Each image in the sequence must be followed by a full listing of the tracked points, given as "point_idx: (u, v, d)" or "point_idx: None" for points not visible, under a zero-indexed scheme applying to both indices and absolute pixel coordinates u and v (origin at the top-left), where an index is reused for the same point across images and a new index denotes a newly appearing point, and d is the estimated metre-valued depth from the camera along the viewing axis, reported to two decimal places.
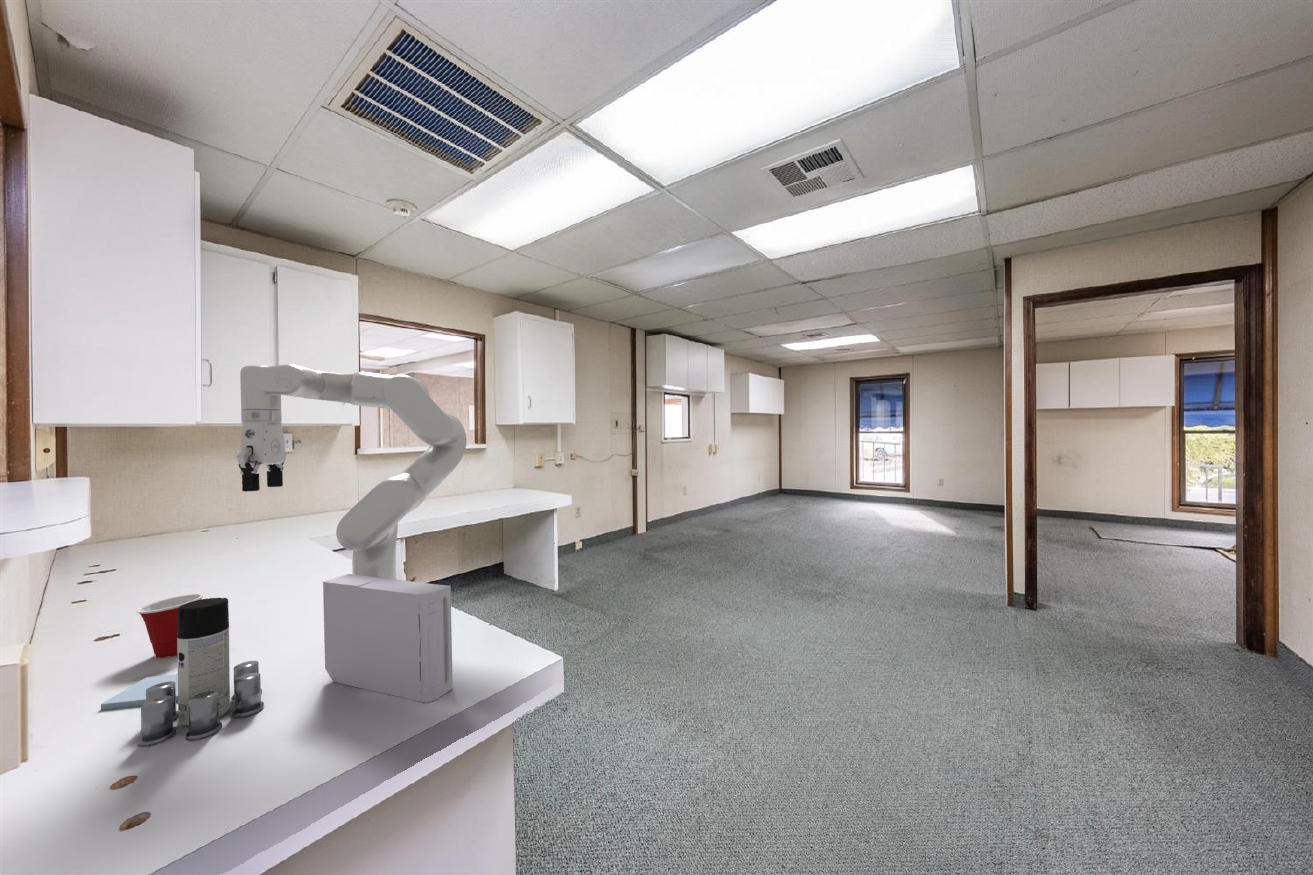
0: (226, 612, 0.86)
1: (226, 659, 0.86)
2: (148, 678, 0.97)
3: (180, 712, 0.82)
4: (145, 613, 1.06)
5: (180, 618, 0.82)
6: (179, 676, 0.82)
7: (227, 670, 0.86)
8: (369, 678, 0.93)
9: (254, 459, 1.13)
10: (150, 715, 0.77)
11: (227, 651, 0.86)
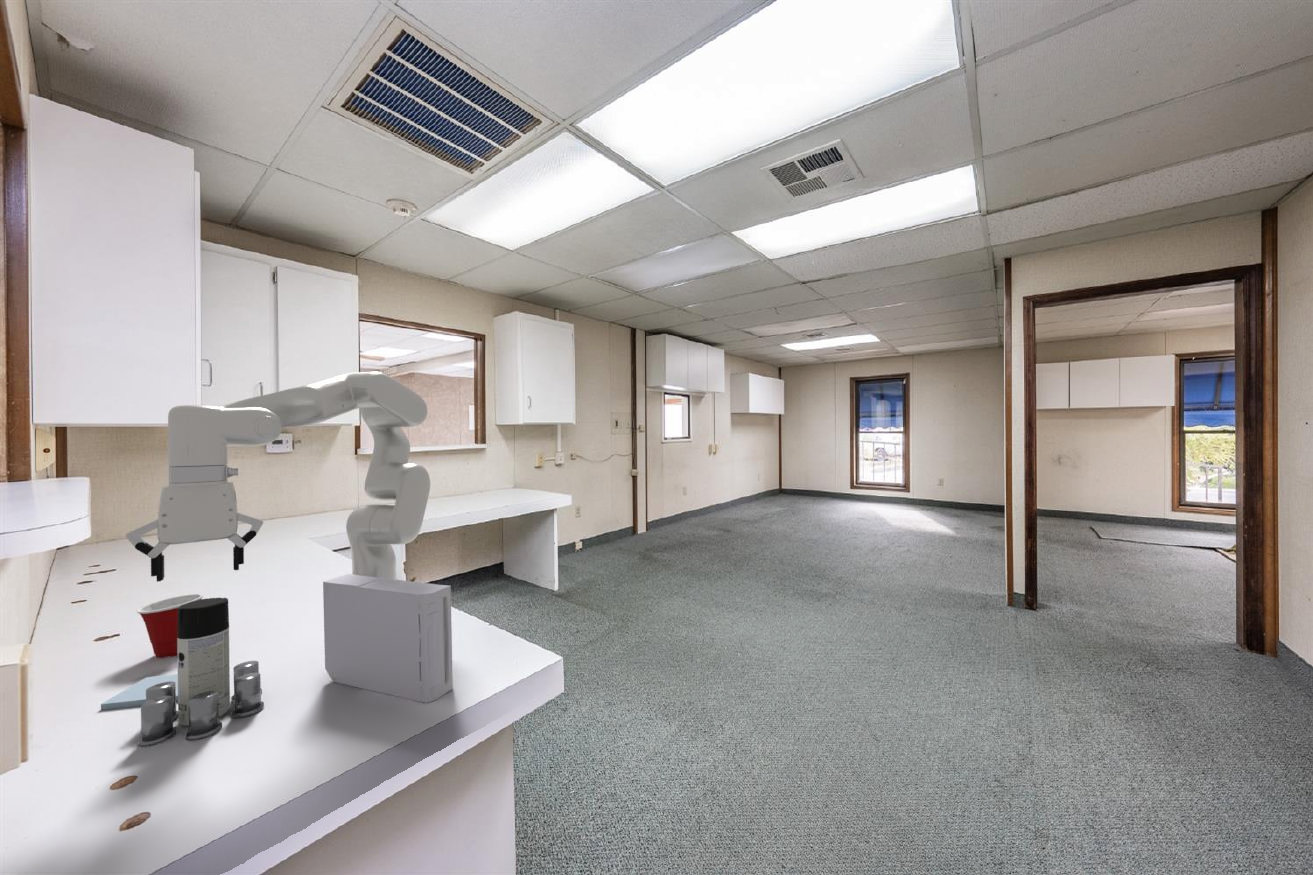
0: (226, 612, 0.86)
1: (226, 659, 0.86)
2: (148, 678, 0.97)
3: (180, 712, 0.82)
4: (145, 613, 1.06)
5: (180, 618, 0.82)
6: (179, 676, 0.82)
7: (227, 670, 0.86)
8: (369, 678, 0.93)
9: None
10: (150, 715, 0.77)
11: (227, 651, 0.86)
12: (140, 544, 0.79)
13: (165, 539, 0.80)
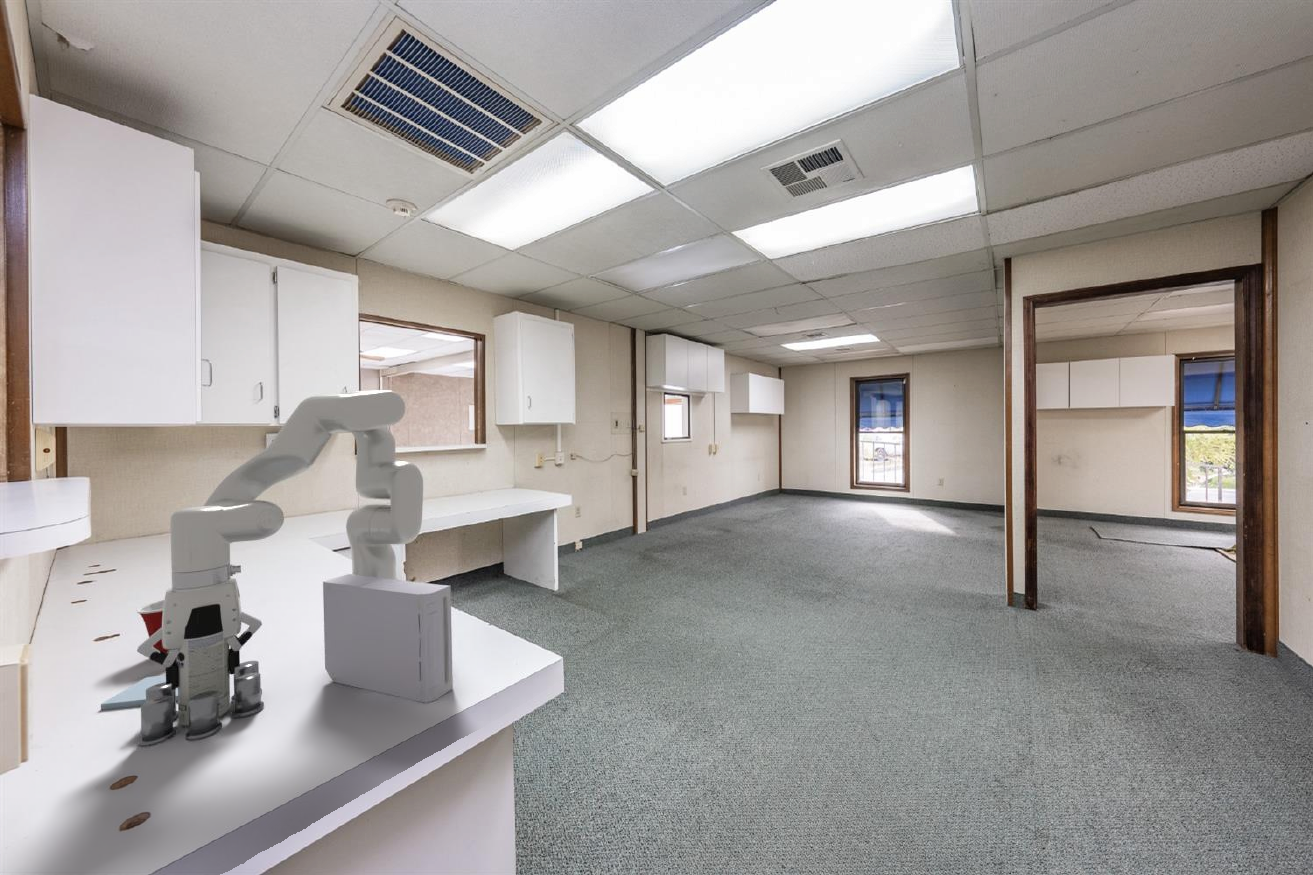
0: None
1: (226, 659, 0.86)
2: (148, 678, 0.97)
3: (180, 712, 0.82)
4: (145, 613, 1.06)
5: None
6: (179, 676, 0.82)
7: (227, 670, 0.86)
8: (369, 678, 0.93)
9: None
10: (150, 715, 0.77)
11: (227, 651, 0.86)
12: (155, 654, 0.80)
13: (169, 645, 0.81)
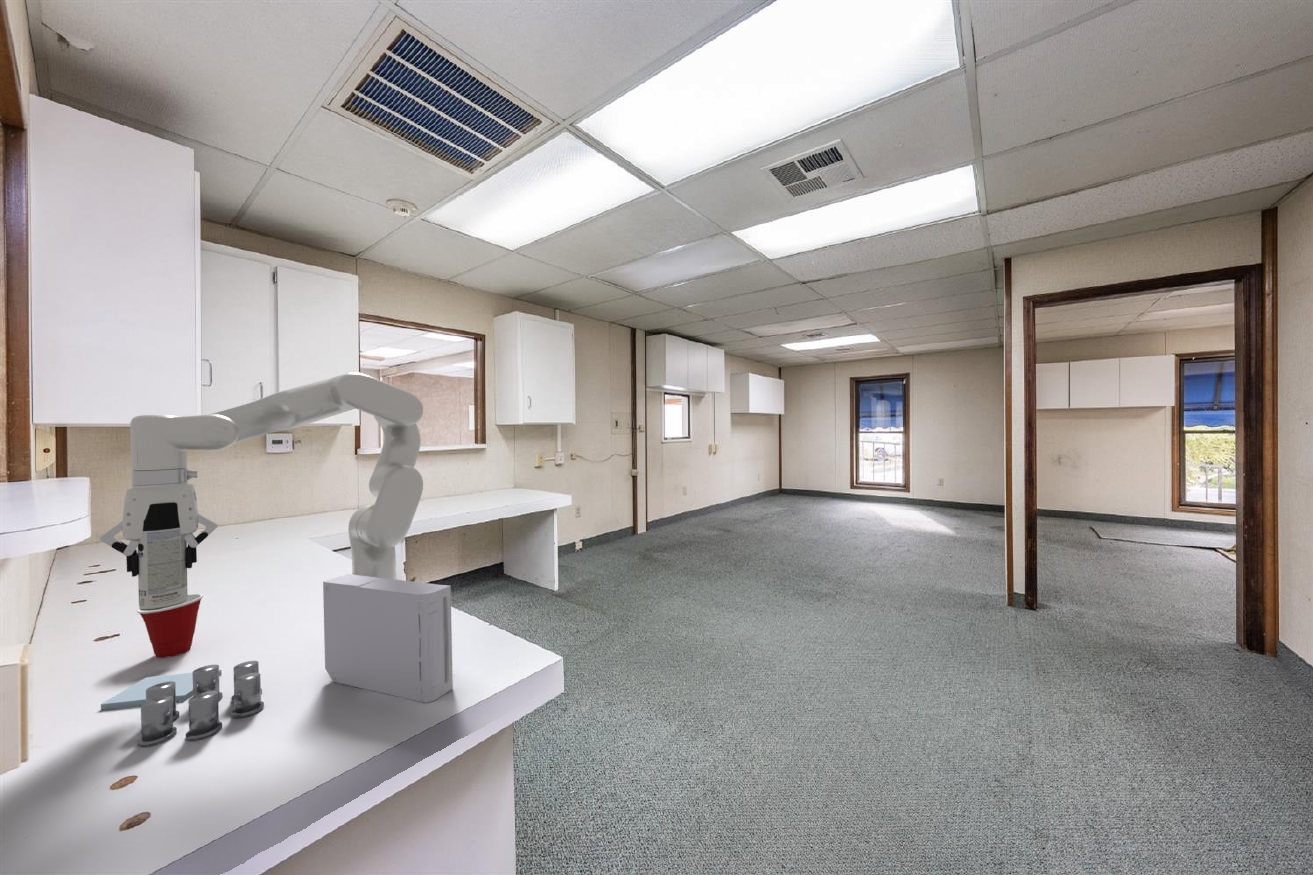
0: None
1: (183, 553, 0.94)
2: (148, 678, 0.97)
3: (140, 597, 0.91)
4: (145, 613, 1.06)
5: None
6: (139, 565, 0.91)
7: (184, 564, 0.95)
8: (369, 678, 0.93)
9: None
10: (150, 715, 0.77)
11: (184, 547, 0.95)
12: (116, 543, 0.89)
13: (129, 536, 0.89)
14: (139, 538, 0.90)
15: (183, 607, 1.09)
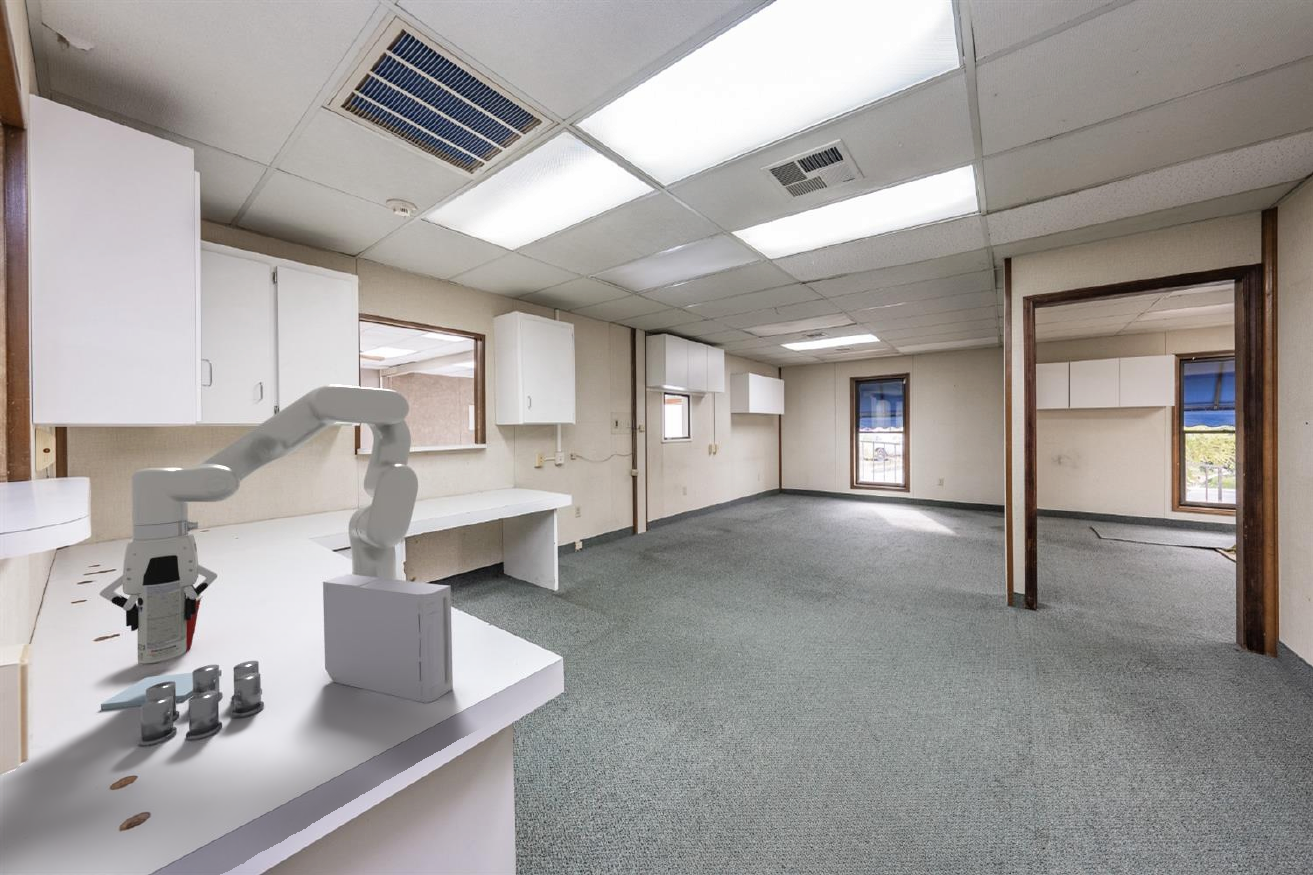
0: None
1: (182, 606, 0.94)
2: (148, 678, 0.97)
3: (139, 651, 0.91)
4: None
5: None
6: (138, 619, 0.91)
7: (184, 616, 0.95)
8: (369, 678, 0.93)
9: None
10: (150, 715, 0.77)
11: (184, 599, 0.95)
12: (116, 598, 0.89)
13: (129, 590, 0.89)
14: (139, 592, 0.90)
15: None
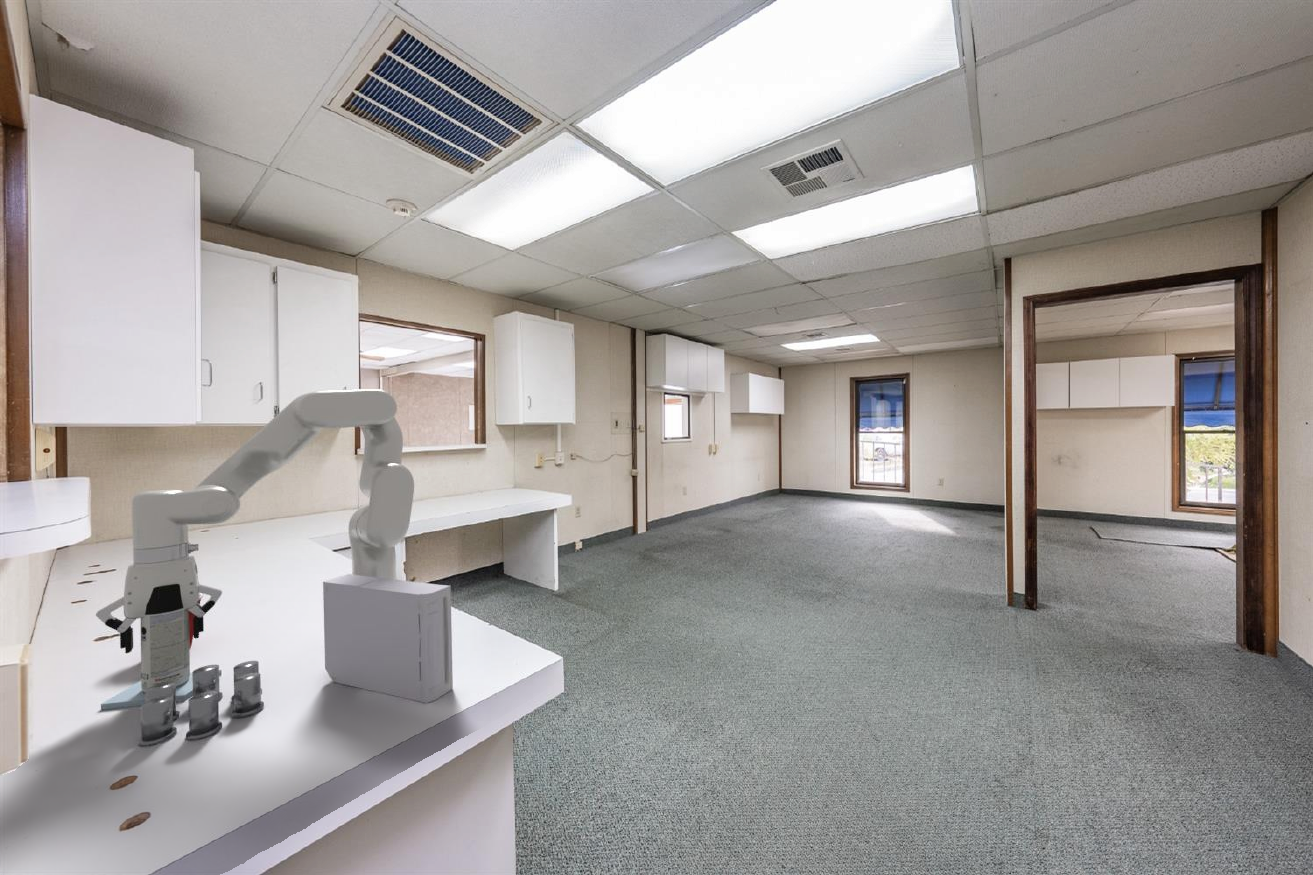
0: None
1: (186, 633, 0.95)
2: None
3: (143, 680, 0.91)
4: None
5: None
6: (142, 648, 0.91)
7: (187, 644, 0.95)
8: (369, 678, 0.93)
9: None
10: (150, 715, 0.77)
11: (187, 627, 0.95)
12: (110, 621, 0.89)
13: (130, 614, 0.90)
14: (140, 616, 0.90)
15: None
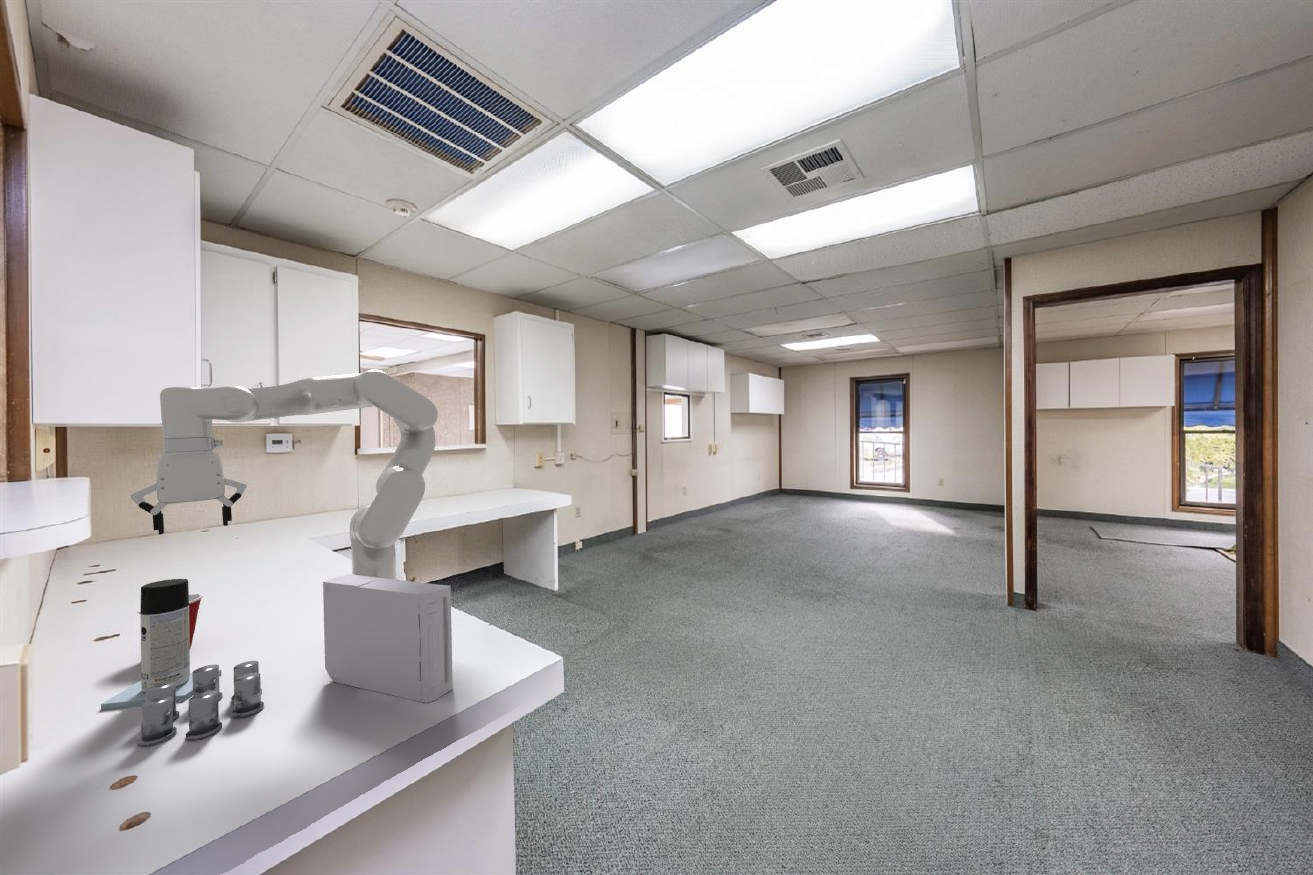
0: (186, 591, 0.95)
1: (186, 633, 0.95)
2: None
3: (143, 680, 0.91)
4: None
5: (142, 596, 0.91)
6: (142, 648, 0.91)
7: (187, 644, 0.95)
8: (369, 678, 0.93)
9: None
10: (150, 715, 0.77)
11: (187, 627, 0.95)
12: (143, 503, 0.95)
13: (164, 499, 0.96)
14: (172, 501, 0.97)
15: None
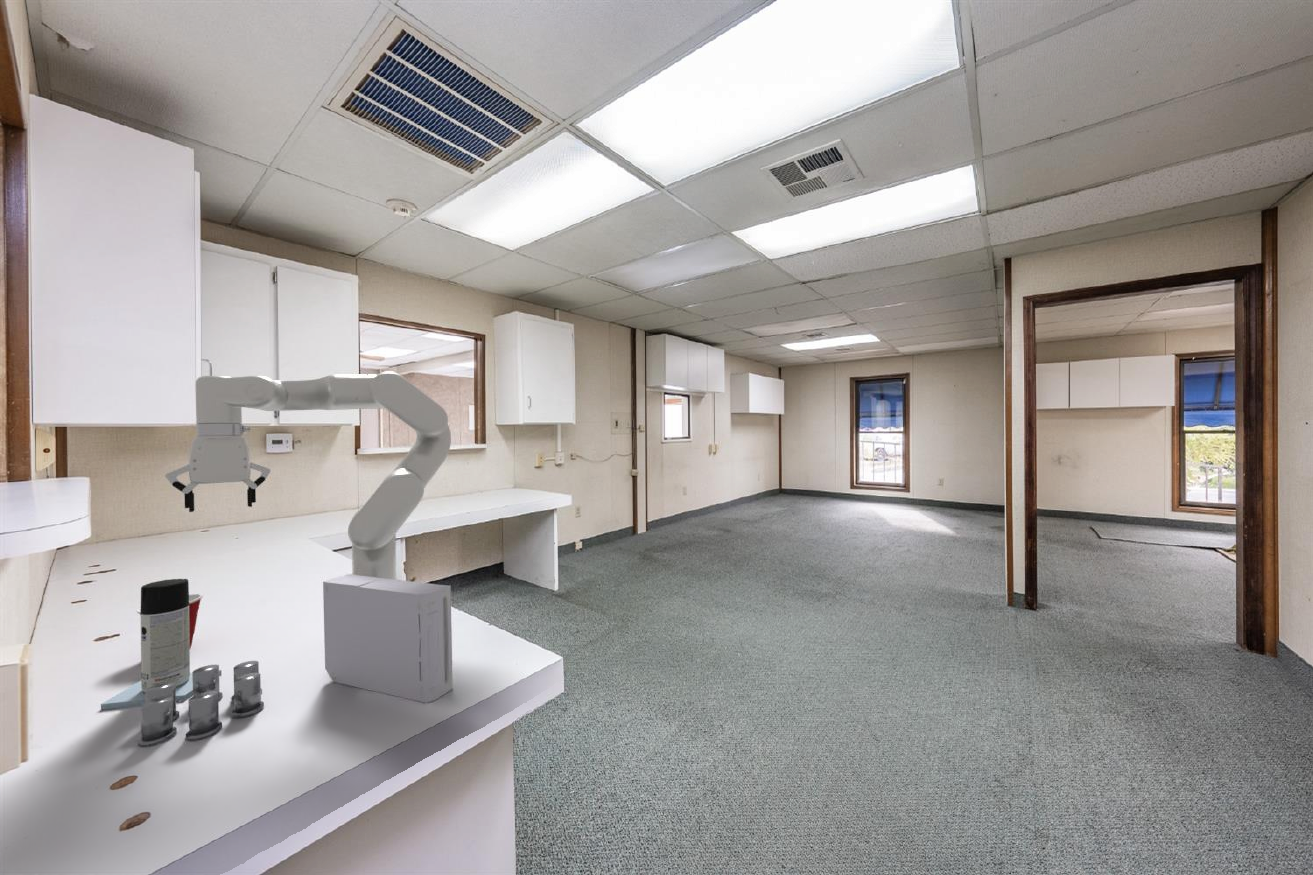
0: (186, 591, 0.95)
1: (186, 633, 0.95)
2: None
3: (143, 680, 0.91)
4: None
5: (143, 595, 0.91)
6: (142, 648, 0.91)
7: (187, 644, 0.95)
8: (369, 678, 0.93)
9: None
10: (150, 715, 0.77)
11: (187, 627, 0.95)
12: (176, 482, 1.02)
13: (195, 479, 1.03)
14: (203, 482, 1.04)
15: None
